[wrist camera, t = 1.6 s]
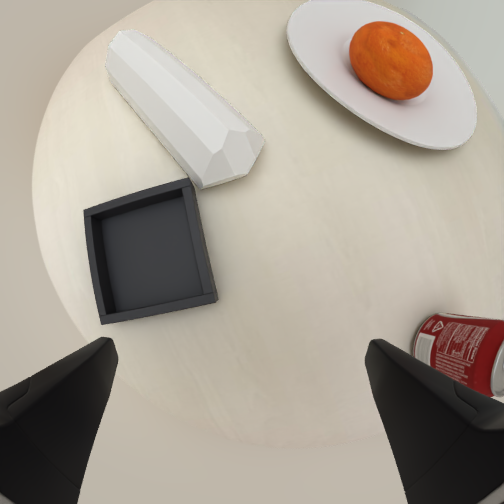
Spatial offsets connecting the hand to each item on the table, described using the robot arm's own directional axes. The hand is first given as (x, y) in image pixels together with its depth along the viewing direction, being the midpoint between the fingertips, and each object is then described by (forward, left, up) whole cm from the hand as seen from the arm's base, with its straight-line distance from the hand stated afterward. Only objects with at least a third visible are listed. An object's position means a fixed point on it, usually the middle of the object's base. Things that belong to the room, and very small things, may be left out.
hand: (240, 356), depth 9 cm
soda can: (+2, -21, -16) cm, 26 cm away
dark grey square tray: (+2, +10, -16) cm, 18 cm away
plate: (+34, -8, -16) cm, 38 cm away
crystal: (+17, +14, -16) cm, 27 cm away
